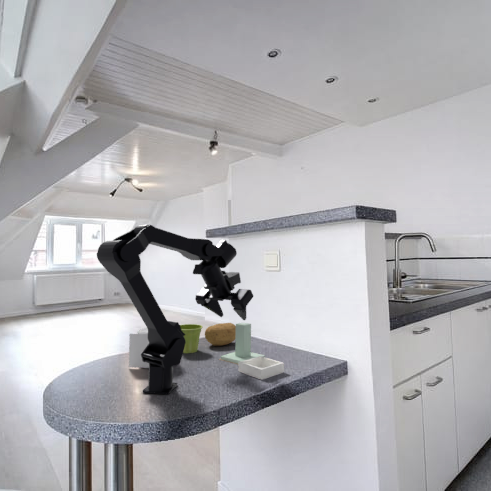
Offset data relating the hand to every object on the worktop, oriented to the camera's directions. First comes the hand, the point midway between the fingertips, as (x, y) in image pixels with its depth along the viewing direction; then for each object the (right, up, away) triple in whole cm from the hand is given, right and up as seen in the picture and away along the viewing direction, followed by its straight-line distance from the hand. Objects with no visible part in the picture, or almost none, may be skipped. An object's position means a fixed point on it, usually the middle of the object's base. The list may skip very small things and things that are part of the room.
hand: (233, 317), depth 103 cm
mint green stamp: (+3, -14, +3) cm, 14 cm away
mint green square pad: (+3, -14, +3) cm, 15 cm away
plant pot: (-16, -15, +12) cm, 25 cm away
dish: (+8, -13, -10) cm, 19 cm away
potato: (-5, -15, +21) cm, 27 cm away
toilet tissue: (-24, -14, -2) cm, 28 cm away
